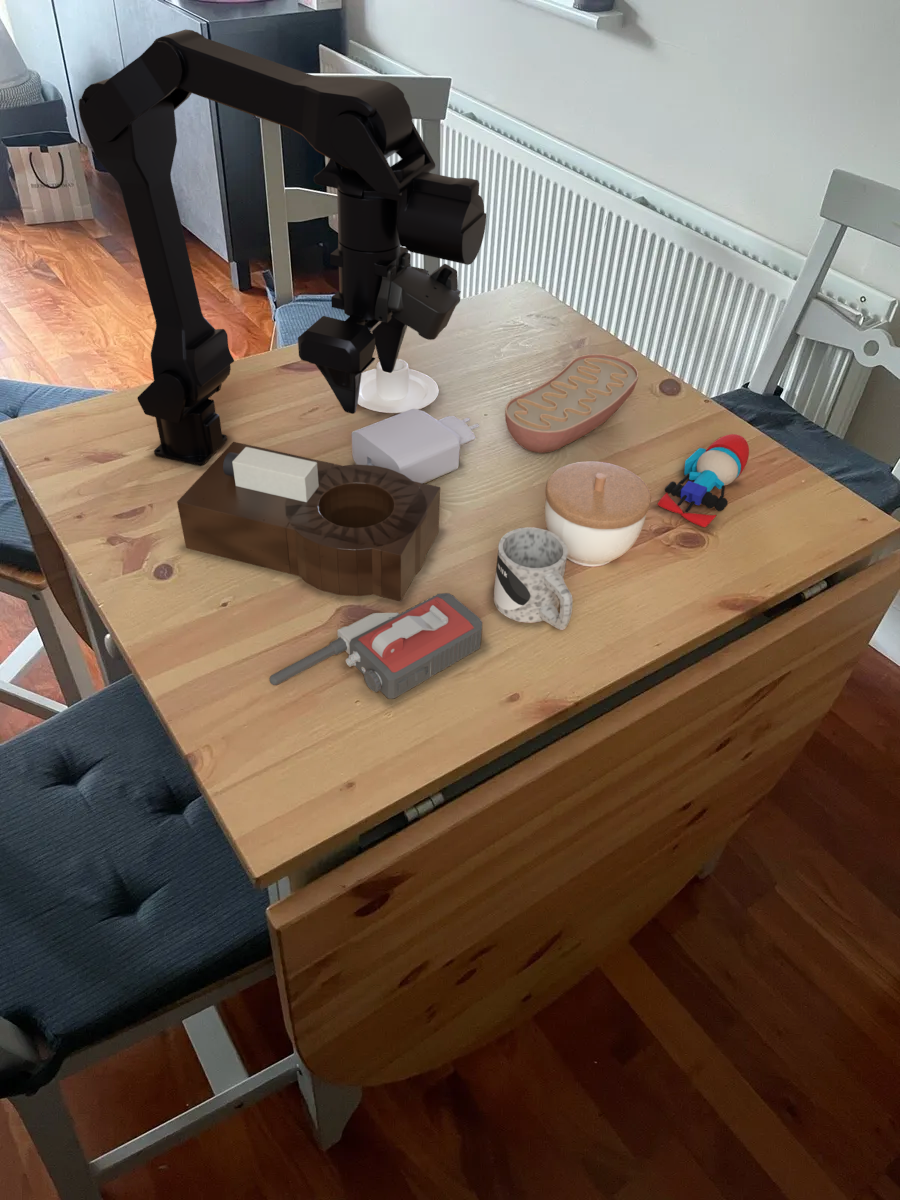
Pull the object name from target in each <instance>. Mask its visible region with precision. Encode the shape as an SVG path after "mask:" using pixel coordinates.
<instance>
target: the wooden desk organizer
mask: <svg viewBox="0 0 900 1200" xmlns="http://www.w3.org/2000/svg"><path fill="white" fill-rule="evenodd" d="M245 447H249V448H254V449H258V450H263V451H267V452H272V453H276V454H281V455H285V456H290V457H294V458H299V459H303V460H308V461H312V462H317V470H318V484H319V487H318V488H317V489H316V491H315V492H314V493H313V495H312V496H311V497H310V499H309V500H308V501H307V502H303V501H299V500H294V499H290V498H286V497H281V496H277V495H273V494H268V493H264V492H260V491H255V490H251V489H247V488H242V487H238V486H236V484H235V477H233V476H229V475H226V474H225V473H224V471H223V462H224V459H225V457H226V455H227V454H228V453H229V452H232V453H237V454H240V453H241V452H242V451H243V449H244V448H245ZM440 502H441V487H440V486H436V485H432V484H428V483H419V482H414V481H412V480H411V479H410V478H408V477H407V476H405V475H403V474H401V473H398V472H396V471H394V470H391V469H388V468H383V467H378V466H373V465H357V464H346V465H345V464H344V465H342V464H337V463H332V462H329V461H323V460H320V459H314V458H309V457H305V456H302V455H296V454H292V453H287V452H282V451H278V450H273V449H268V448H265V447H260V446H255V445H250V444H247V443H241V442H237V441H232V443H231V444H230V445H229V446H228V447H226V448H225V450H224V451H223V452H222V453H221V454H220V455H219V456H218V457H217V458H216V459H215V461H214V462H213V463H211V464H210V466H209V467H208V468H207V469H206V470H205V471H204V472H203V473H202V474H201V475H200V477H199V478H198V479H196V481H195V482H194V483H192V485H191V486H190V487H189V488H188V489H187V491H185V492H184V494H182V496H181V497H180V498H179V499H178V500H177V501H176V504H177V509H178V515H179V519H180V524H181V530H182V534H183V539H184V544H185V548H186V549H189V550H193V551H198V552H202V553H205V554H209V555H213V556H217V557H220V558H226V559H230V560H234V561H237V562H241V563H245V564H249V565H252V566H253V565H254V566H256V567H257V566H258V567H260V568H265V569H269V570H273V571H278V572H281V573H285V574H290V575H293V576H297V577H299V578H301V580H303V581H304V582H305V583H306V584H308V585H310V586H312V587H314V588H316V589H318V590H320V591H323V592H327V593H331V594H335V595H339V596H348V597H349V596H352V597H353V596H354V597H363V596H372V595H374V596H377V597H382V598H386V599H388V600H392V601H397V602H401V601H402V599H403V598H404V597H405V594H406V593H407V591H408V589H409V587H410V585H411V583H412V581H413V579H414V578H415V576H416V575H417V574H418V573H419V572H420V571H421V569H422V567H423V565H424V563H425V561H426V558H427V554H428V553H429V550H430V548H431V547H432V545H433V543H434V541H435V540H436V537H437V535H438V534H439V533H440V532H439V530H440V528H439V527H440V504H441V503H440Z"/></svg>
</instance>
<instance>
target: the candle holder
mask: <svg viewBox="0 0 900 1200" xmlns="http://www.w3.org/2000/svg"><path fill="white" fill-rule="evenodd" d="M375 367H376V368H373V369H369V370H365V371H363V372H362V374H361V381H360V389H359V397H358V403H357V406H358V405H359V406H360V407H362V408H364V409H367V410H370V411H373V412H379V413H384V414H386V413H387V414H400V413H403V412H405V411H408V410H411V409H417V410H421V409H424V408H426V407H428V406H429V405H432V404H433V402H435V400H436V399H437V398H438V396H439V393H440V391H439V390H440V389H439V386H438V384H437V382H436V381H435V380H434V378H432V377H431V376H429V375H427V374H426V373H424V372H421V371H418V370H415V369H412V368H409V364H408V362H406V361H405V360H404V359H401V358H397V360H396V364H395V367H394V370H393V372H392V373H388V372H384V371H383V370H382V367H381V364H380V361H379V360H378V362H377V363H376V365H375Z"/></svg>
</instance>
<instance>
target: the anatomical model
mask: <svg viewBox="0 0 900 1200" xmlns="http://www.w3.org/2000/svg"><path fill="white" fill-rule="evenodd" d="M638 379H639V370H638V369H637V367H635V365H634V364H632V363H631V362H630V361H628V360H626V359H624V358H621V357H618V356H615V355H610V354H604V353H589V354H583V355H579V356H576V357H574V358H573V359H572V360H571V361H570V362H569V363H568V364H567V365H566V366H564V367H563V369H562V370H560V371H559V372H558V373H556V375H554V376H553V377H551V378H550V379H548V380H547V381H545V382H543V383H541V384H540V385H538V386H536V387H534V388H532V389H530V390H528V391H526V392H523V393H522V394H519V395H518V396H515V397H514V398H513V397H512V398H511V399H510V400H509V401H507V403H506V405H505V408H504V419H505V420H504V421H505V424H506V428H507V431H508V433H509V435H510V436H511V438H512V439H513V440H514V442H516V444H518V445H519V446H520V447H522V448H523V449H525V450H527V451H530V452H533V453H539V454H540V453H541V454H542V453H543V454H544V453H550V452H555V451H557V450H559V449H561V448H563V447H565V446H567V445H569V444H571V443H573V442H575V441H577V440H579V439H580V438H583V437H584V436H586V435H588V434H590V433H591V432H592V431H593V430H595V429H596V428H598V427H600V426H601V425H602V424H604V423H605V422H606V421H607V420H609V419H610V418H611V417H612V416H613V415H614V414H615V413H616V412H617V410H618V409H619V408H620V407H621V406H622V405H623V404H624V403H625V401H627V400H628V398H629V397H630V396H631V394H632V393H633V392H634V390H635V387H636V385H637V383H638Z"/></svg>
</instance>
